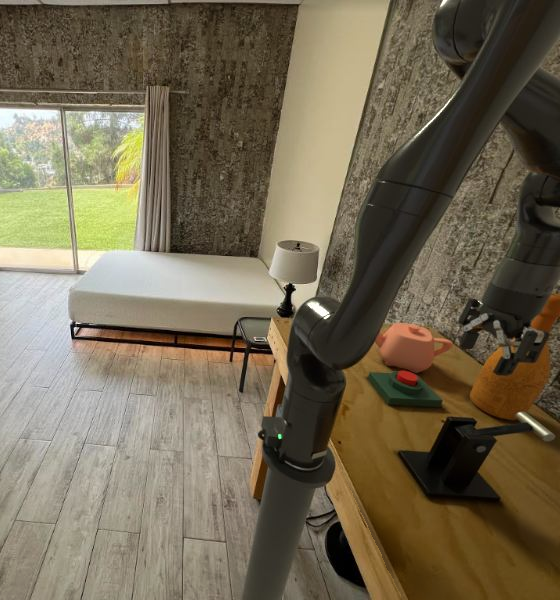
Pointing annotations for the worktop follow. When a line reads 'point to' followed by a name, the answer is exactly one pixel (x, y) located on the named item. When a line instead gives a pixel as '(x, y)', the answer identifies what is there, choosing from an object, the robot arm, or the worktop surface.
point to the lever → (507, 429)
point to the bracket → (453, 464)
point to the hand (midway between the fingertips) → (481, 360)
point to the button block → (403, 391)
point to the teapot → (409, 347)
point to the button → (407, 378)
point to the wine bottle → (516, 374)
